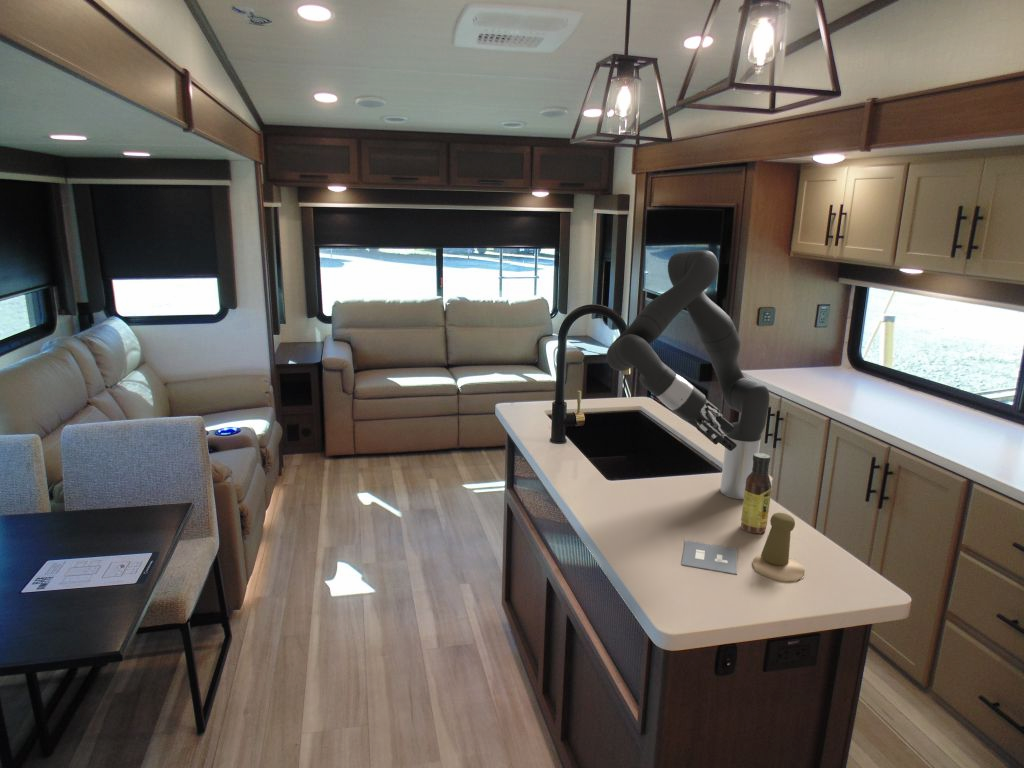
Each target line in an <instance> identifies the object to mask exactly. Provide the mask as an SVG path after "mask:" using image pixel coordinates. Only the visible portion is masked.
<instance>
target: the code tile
mask: <svg viewBox="0 0 1024 768" xmlns="http://www.w3.org/2000/svg"><path fill="white" fill-rule="evenodd" d="M737 552H738V550H737V548H732V547H729V546H722V545H721V546H720V545H715V544H709V543H704V542H703V543H701V542H697V541H696V542H695V541H691V540H684V547H683V552H682V558H681V566H684V567H690V568H696V569H704V570H709V571H713V572H720V573H724V574H731V575H737V569H738V567H737V565H738V563H737V562H738V561H737V560H738V558H737V557H738V555H737Z"/></svg>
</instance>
